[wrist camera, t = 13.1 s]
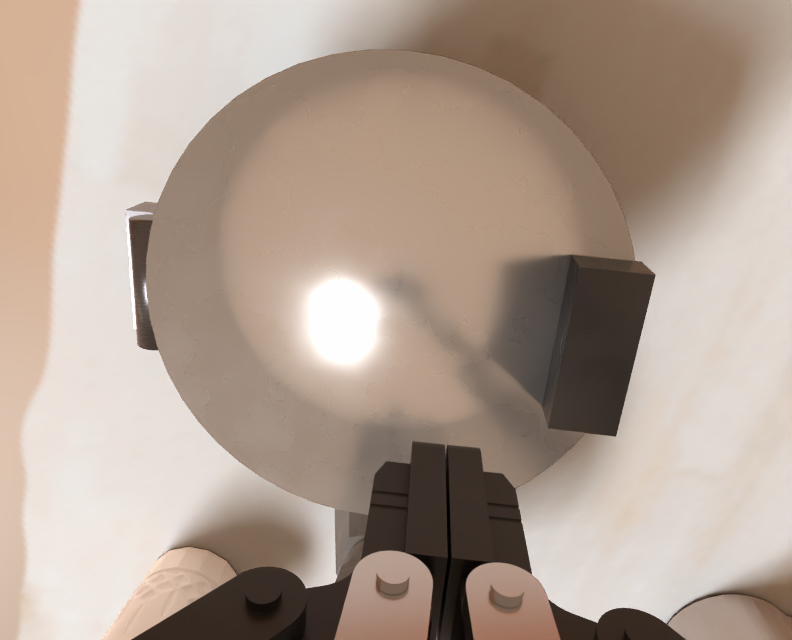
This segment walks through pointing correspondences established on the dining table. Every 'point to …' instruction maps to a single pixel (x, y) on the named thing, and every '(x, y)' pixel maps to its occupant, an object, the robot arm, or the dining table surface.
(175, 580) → the white cup
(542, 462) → the lid
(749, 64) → the dining table surface
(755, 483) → the dining table surface
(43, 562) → the dining table surface
